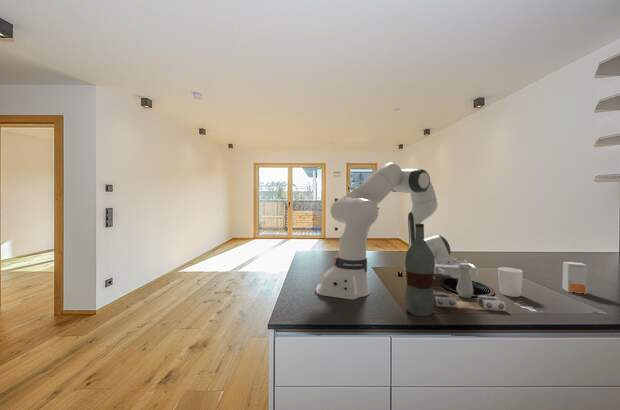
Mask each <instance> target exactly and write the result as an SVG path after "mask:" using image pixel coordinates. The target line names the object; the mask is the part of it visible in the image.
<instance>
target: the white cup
mask: <svg viewBox="0 0 620 410" xmlns="http://www.w3.org/2000/svg"><path fill="white" fill-rule="evenodd" d="M497 273H498V287H499V293H500V295H503V296H506V297H513V298H518V297H519V298H520V297H521V294H522V292H521V291H522V287H523V274H524V272H523V270H522V269H518V268H514V267H509V266H508V267H506V266H501V267H500V266H499V267H498V268H497Z"/></svg>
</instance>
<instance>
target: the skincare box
mask: <svg viewBox="0 0 620 410" xmlns="http://www.w3.org/2000/svg"><path fill="white" fill-rule="evenodd" d="M587 280H588V265H587V264H585V263H582V262H576V261H575V262H574V261H562V283H561V284H562V286H561V288H562V290H563V289H564V290H563V291H566V292H567V293H573V292H575V294H581V293H584V294H583V295H586V294H587V287H588V286H587V285H588V283H587Z"/></svg>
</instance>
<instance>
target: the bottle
mask: <svg viewBox="0 0 620 410" xmlns="http://www.w3.org/2000/svg"><path fill="white" fill-rule="evenodd" d="M415 225H416V234H415V241H414V242H413V243H412V245H411V246H410V248H409V247H408V249H407V251H406V254H405V260H404V264H405V273H406V274H405V275H406V287H405V294H404V300H405V301H404V302H405V308H406V311H407V312H408V313H410V314H411V315H415V316H419V317H428V316H431V315H432V314H433V313H434V308H435V304H436V302H435V301H434V293H435V292H434V288H433V284H434V275H435V274H434V267H435V263H434V256H433V253H432V251H431V250H430V248H429V247H428V245H427V244H426V242H425V240H424V239H425V235H424V234H425V223H420V224H415Z"/></svg>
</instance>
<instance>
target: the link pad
mask: <svg viewBox="0 0 620 410" xmlns="http://www.w3.org/2000/svg"><path fill="white" fill-rule="evenodd" d="M456 309H462V310H463V309H465V310H478V311H479V310H481V311H485V310H484V309H483V306H482V305H479V304H478V302H475V301H460V300H458V301H457V300H456Z"/></svg>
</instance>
